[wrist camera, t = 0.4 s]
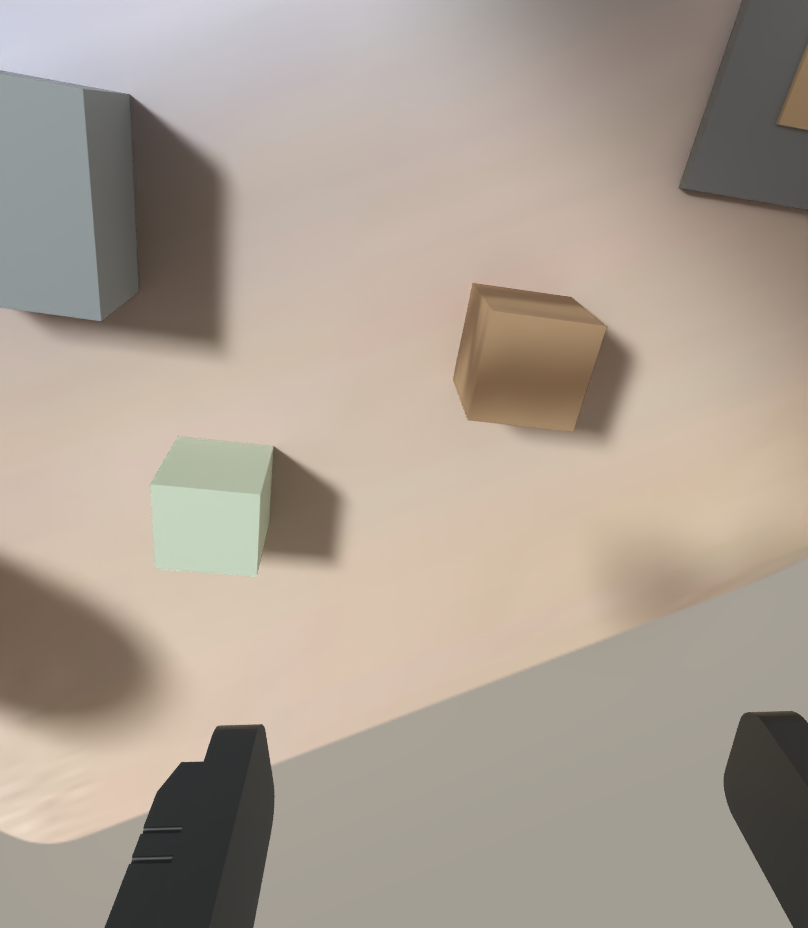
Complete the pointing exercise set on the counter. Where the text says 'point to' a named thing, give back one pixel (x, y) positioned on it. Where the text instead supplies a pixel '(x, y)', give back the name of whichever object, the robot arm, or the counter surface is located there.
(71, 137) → the slate block
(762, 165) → the card
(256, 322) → the counter surface
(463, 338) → the walnut block
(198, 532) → the sage green block
